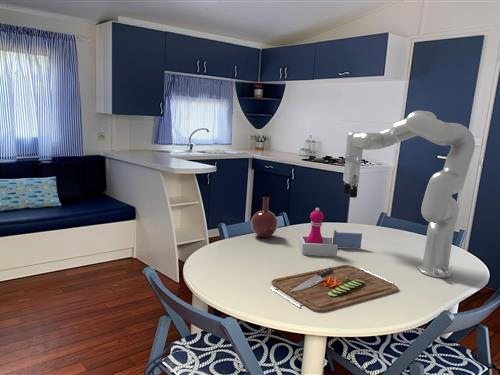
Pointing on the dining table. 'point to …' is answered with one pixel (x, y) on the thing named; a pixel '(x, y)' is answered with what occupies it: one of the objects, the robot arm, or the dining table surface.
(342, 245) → the panel
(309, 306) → the chopping board
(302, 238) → the grey open box
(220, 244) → the dining table surface
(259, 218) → the round-bottom flask
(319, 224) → the pepper mill
